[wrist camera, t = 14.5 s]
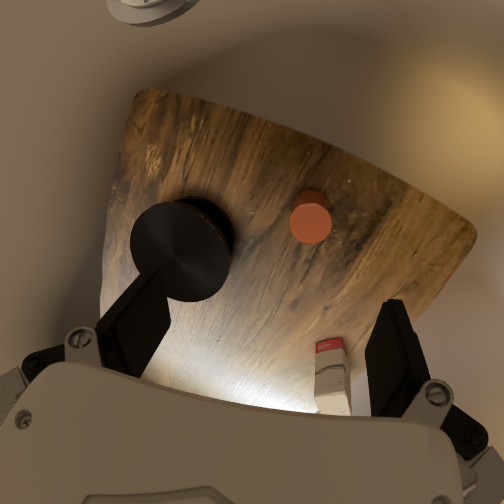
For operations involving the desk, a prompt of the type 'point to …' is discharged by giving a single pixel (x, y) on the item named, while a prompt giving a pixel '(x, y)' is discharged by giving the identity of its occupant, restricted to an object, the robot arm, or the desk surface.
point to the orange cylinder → (310, 217)
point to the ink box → (332, 378)
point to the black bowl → (185, 246)
